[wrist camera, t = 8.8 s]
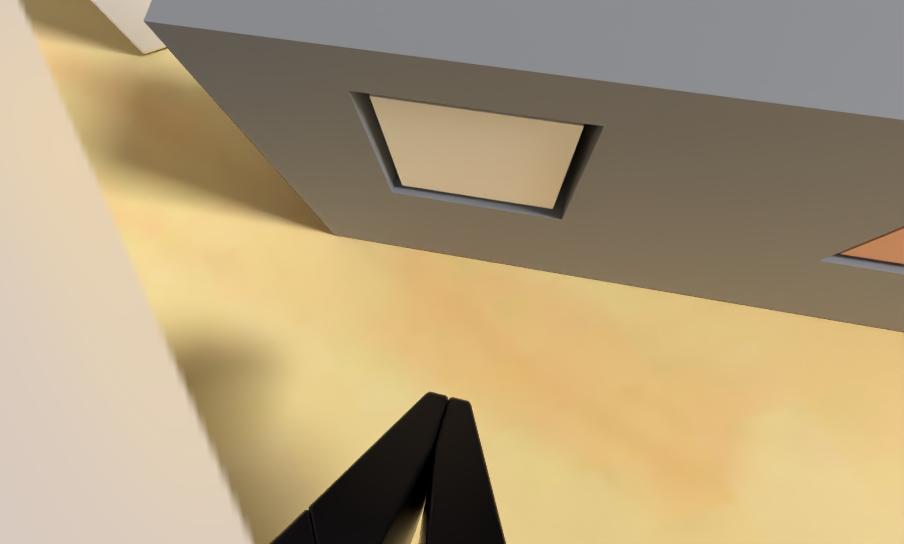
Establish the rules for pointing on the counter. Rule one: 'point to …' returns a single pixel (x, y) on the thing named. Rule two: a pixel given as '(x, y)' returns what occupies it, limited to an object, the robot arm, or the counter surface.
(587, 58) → the console
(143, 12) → the milk carton
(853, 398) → the counter surface
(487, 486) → the robot arm
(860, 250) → the terracotta button
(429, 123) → the cream button
